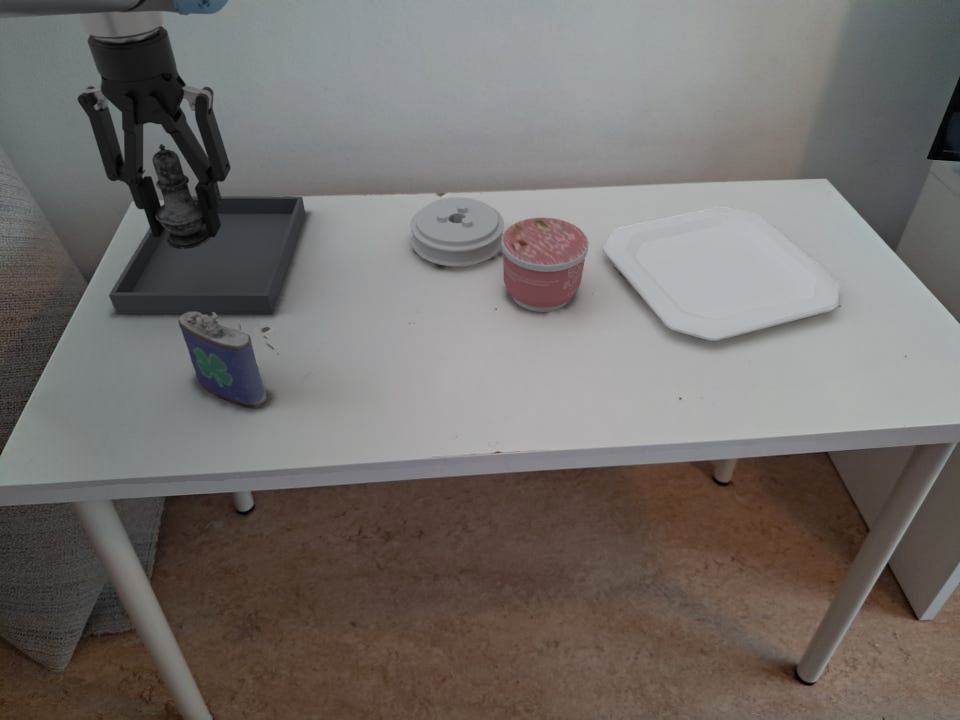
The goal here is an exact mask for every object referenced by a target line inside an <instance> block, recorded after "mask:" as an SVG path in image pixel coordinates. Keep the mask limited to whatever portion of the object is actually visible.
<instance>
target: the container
mask: <svg viewBox="0 0 960 720" xmlns="http://www.w3.org/2000/svg"><path fill="white" fill-rule="evenodd" d="M588 239H589V238H588V237H587V235H586V234H585V232H584V231H583V230H582V229H581V228H579V227H578V226H576V225H575V224H573V223H571V222H569V221H566V220H562V219H560V218H559V219H558V218H553V217H531V218H527V219H523V220H519V221H517V222H515V223H513V224H511V225H510V226H509V227H508V228H506V229H505V231H503V235H502V240H501V246H502V248H501V251H502V266H503V267H502V270H503V283H504V285H505V287H506V289H507V291H508V294H509V295H510V296H511V297H512V299H513V301H514V302H515V303H516V304H517V305H518V306H520V307H521V308H524V309H526V310H529V311H532V312H537V313H538V312H539V313H549V312H554V311H557V310H559V309H562V308H564V307H565V306H567V304H568V303H569V302H570V301H571V300H572V299H573V298H574V296H575V295H576V293H577V292H578V290H579V289H580V287H581V283H582V278H583V272H584V267H585V262H586V257H587V255H588V252H589V245H590V244H589V243H590V242H589V240H588Z"/></svg>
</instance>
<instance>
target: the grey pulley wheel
mask: <svg viewBox="0 0 960 720" xmlns="http://www.w3.org/2000/svg"><path fill="white" fill-rule="evenodd" d="M504 228H505V221H504V217H503V216H502V214H501V213H500V212H499V211H498V210H497V209H496V208H494V207H492V206H491V205H489V204H487V203H486V202H484V201H481V200H480V199H475V198H470V197H461V196H458V197H446V198H441V199H438V200H434V201H432V202H430V203H428V204H425V206H423V207H422V208H420V209H419V210H417V211H416V212H415V213H414V214H413V216H412V218H411V220H410V231H411V234H412V235H411V245H412V248H413V250H414V251H415V253H416V254H417V255H418V256H420V257H421V258H422V259H424V260H426V261H428V262H430V263H433V264H436V265H440V266H446V267H467V266H474V265H476V264H477V265H478V264H481V263H483V262H486V261H488V260H490V259H492V258H493V257H495V256H496V255H497V254H499V252H501V250H502V246H501V240H502V235H503V234H504Z"/></svg>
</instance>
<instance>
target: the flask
mask: <svg viewBox="0 0 960 720" xmlns="http://www.w3.org/2000/svg"><path fill="white" fill-rule="evenodd" d="M218 319H219V314H216V313H215V312H212V314H211V316H209V314H202V313H200V312H197V311H192V312H190V311H189V312H186V313H184V314H180V316H179V318H178V320H177V323H178V325H179V328H180V330H181V333H182V336H183V340H184V342H185V345H186V348H187V350H188V354H189V357H190V361H191V364H192V366H193V370H194V372H195V375H196V380H197V383H198V385H199V386H200V387H201V388H202V389H203V390H205V391H206V392H207V393H208V394H209V393H210V394H211V395H212V396H214V397H217V398H219V399H222V400H225V401H226V402H229V403H232V404H236V405H237V406H241V407H243V408H252V409H254V408H255V409H258V408H259V407H262V406H263V405H264V404H265V403H266V402H267V400H268V398H267V392H266V389H265V385H264V383H263V380H262V376H261V373H260V370H259V365H258V362H257V360H256V355H255V351H254V348H253V343H252V339H251V338H252V337H251V336H250V334H248V333H246V332H244V331H240V330H237V329H233V328H229V327H227V326H224V325H221V324H219V322H218Z"/></svg>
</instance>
